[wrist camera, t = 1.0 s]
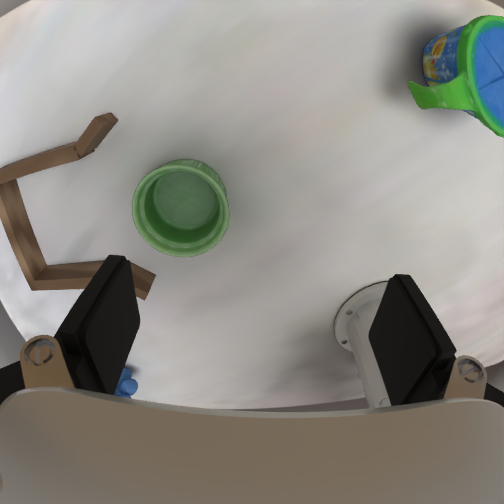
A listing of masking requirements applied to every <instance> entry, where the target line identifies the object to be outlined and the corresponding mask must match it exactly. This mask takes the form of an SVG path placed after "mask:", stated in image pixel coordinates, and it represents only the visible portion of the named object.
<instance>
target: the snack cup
mask: <svg viewBox="0 0 504 504" xmlns="http://www.w3.org/2000/svg"><path fill="white" fill-rule="evenodd" d="M423 71H424V78H425V80H426V82H427V83H428V84H429V86H426V87H424V86H422V85H419V84H417V83H415V82H413V81H408V85H409V89H410V90H411V93H412V95H413V97H414V99H415V101H416V103H417V105H418V106H419V107H420V108H421V109H427V108H444V109H460V110H463V111H465V112H467V113H468V114H470V115H472V116H474V117H475V118H477V119H479V120H480V121H481V123H483V124H484V125H485V126H486V127H488V128H489V129H490V130H492V131H493V132H494V133H495V134H496V135H498V136H501V137H504V17H502V16H492V15H487V16H480V17H477V18H475V19H473V20H472V21H470V22H469V23H468V24H467V25H464V26H462V27H459V28H456V29H453V30H451V31H448V32H446V33H443V34H441V35H439V36H437V37H435V38H434V39H433V40H431V41H430V42H429V43H428V44H427V45H426V46H425V47H424V54H423Z"/></svg>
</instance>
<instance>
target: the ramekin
mask: <svg viewBox="0 0 504 504" xmlns="http://www.w3.org/2000/svg"><path fill="white" fill-rule="evenodd" d="M132 215H133V220H134V223H135V226H136V228H137V230H138V232H139V233H140V235H141V236H142V237H143V239H144V240H145V241H146V242H147V243H148V244H149V245H151V246H152V247H153V248H155V249H156V250H158V251H160V252H162V253H165V254H168V255H171V256H177V257H191V256H196V255H199V254H202V253H204V252H206V251H208V250H210V249H211V248H213V247H214V246H215V245H216V244H217V243H218V242H219V241H220V240H221V239H222V237H223V236H224V234H225V232H226V229H227V226H228V222H229V205H228V201H227V198H226V190H225V187H224V184H223V182H222V180H221V179H220V177H219V176H218V174H217V173H216V172H215V171H214V170H213V169H212V168H210V167H209V166H208V165H206V164H204V163H202V162H199V161H196V160H189V159H183V160H176V161H173V162H170V163H168V164H166V165H164V166H163V167H160V168H157V169H155V170H154V171H152V172H150V173H149V174H148V175H147V176H145V177H144V178H143V179H142V181H141V182H140V183H139V185H138V187H137V188H136V191H135V193H134V197H133V201H132Z"/></svg>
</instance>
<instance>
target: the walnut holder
mask: <svg viewBox="0 0 504 504" xmlns="http://www.w3.org/2000/svg"><path fill="white" fill-rule="evenodd" d="M117 121H118V119H117V118H116V117H115V116H114V115H113V114H112V113H107V114H104V115H100V116H97V117H95V118H94V119H93V120H92V122H91V123H90V124H89V126H88V127H87V129H86V130H85V131H84V133H83V134H82V136H81V137H80V138H79V140H78V141H77V142H73V143H70V144H66V145H63V146H60V147H57V148H54V149H51V150H48V151H45V152H42V153H39V154H36V155H33V156H30V157H27V158H25V159H22V160H19V161H16V162H14V163H11V164H9V165H6V166H4V167H2V168H0V218H1V221H2V224H3V226H4V229H5V232H6V234H7V237H8V239H9V242H10V244H11V247H12V249H13V252H14V254H15V256H16V258H17V261H18V263H19V265H20V267H21V270H22V272H23V274H24V276H25V278H26V280H27V282H28V284H29V286H30V288H31V290H32V291H34V290H64V289H85V288H86V287H87V285H88V284H89V282H90V281H91V279H92V278H93V276H94V275H95V274H96V272H97V271H98V269H99V268H100V266H101V265H102V264H103V262H104V261H93V262H82V263H71V264H59V265H48V266H47V265H46V262H45V260H44V258H43V255H42V253H41V250H40V248H39V246H38V243H37V240H36V238H35V235H34V233H33V230H32V227H31V224H30V222H29V219H28V216H27V213H26V210H25V207H24V204H23V201H22V198H21V195H20V191H19V188H18V185H17V181H16V178H19V177H22V176H25V175H28V174H31V173H35V172H38V171H41V170H44V169H48V168H51V167H55V166H58V165H62V164H65V163H69V162H73V161H76V160H79V159H81V158H83V157H85V156H86V155H88V154H90V153H92V152H94V151H95V150H94V149H95V148H97V147H98V145H99V144H100V143H101V141H102V140H103V139H104V138H105V136H106V135H107V134H108V132H109V131H110V130H111V129H112V127H113V126H114V125H115V124H116V122H117ZM130 263H131V262H130ZM131 269H132V275H133V281H134V287H135V293H136V296H137V297H139V298H141V299H143V300H145V299H146V297H147V295H148V293H149V290H150V288H151V285H152V283H153V281H154V278H155V276H156V275H155V274H153V273H151V272H149V271H147V270H145V269H143V268H141V267H139V266H137V265H135V264H133V263H131Z"/></svg>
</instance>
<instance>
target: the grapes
mask: <svg viewBox="0 0 504 504" xmlns="http://www.w3.org/2000/svg"><path fill="white" fill-rule="evenodd" d="M131 377H132V373H131V371H130V370H129V369H127V368H123V371H122V374H121V377H120V379H119V382H118V385H117V388H116V391H115V394H114V396H119V397H125V398H131V397H130V396H131V395H133V394H134V393H135V392H136V391H137V388H138V383H137V381H136V380H135V379H131ZM131 399H132V398H131Z"/></svg>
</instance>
